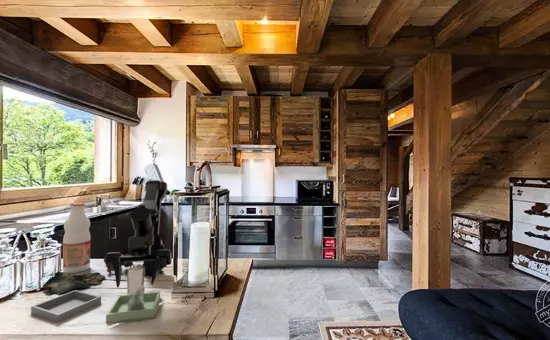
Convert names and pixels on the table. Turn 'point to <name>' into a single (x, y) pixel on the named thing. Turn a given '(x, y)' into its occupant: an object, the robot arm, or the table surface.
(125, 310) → the tray
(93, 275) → the decorative rock
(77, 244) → the fruit juice
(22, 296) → the table surface
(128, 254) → the brown arched figure
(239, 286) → the table surface
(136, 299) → the pebble canister
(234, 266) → the table surface
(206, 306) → the table surface
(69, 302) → the tray
